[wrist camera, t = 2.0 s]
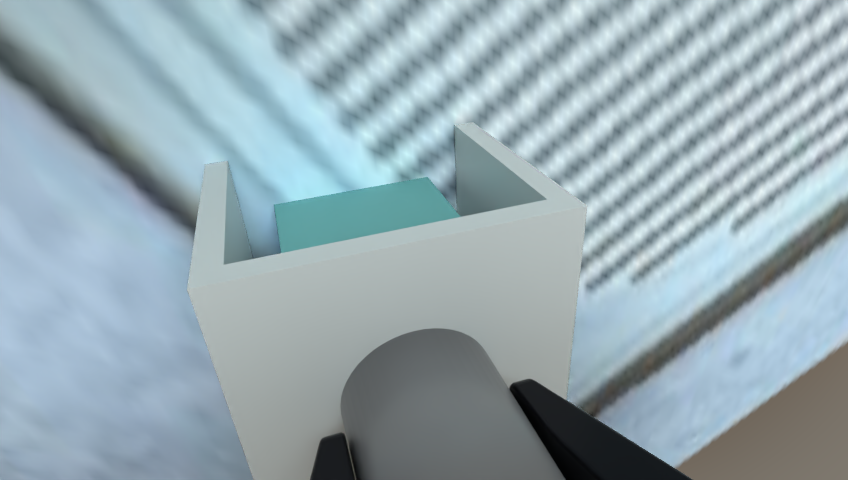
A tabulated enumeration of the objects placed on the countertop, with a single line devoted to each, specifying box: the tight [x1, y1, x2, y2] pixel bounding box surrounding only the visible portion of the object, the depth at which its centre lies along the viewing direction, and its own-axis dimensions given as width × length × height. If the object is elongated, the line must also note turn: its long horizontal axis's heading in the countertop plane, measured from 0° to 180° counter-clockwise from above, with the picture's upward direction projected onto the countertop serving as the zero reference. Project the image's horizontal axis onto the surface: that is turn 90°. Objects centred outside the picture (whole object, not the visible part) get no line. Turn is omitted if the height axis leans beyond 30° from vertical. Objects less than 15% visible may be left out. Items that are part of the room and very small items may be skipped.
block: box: [274, 177, 460, 253], centre depth 13 cm, size 4×4×4 cm
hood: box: [187, 122, 587, 480], centre depth 10 cm, size 7×7×10 cm
